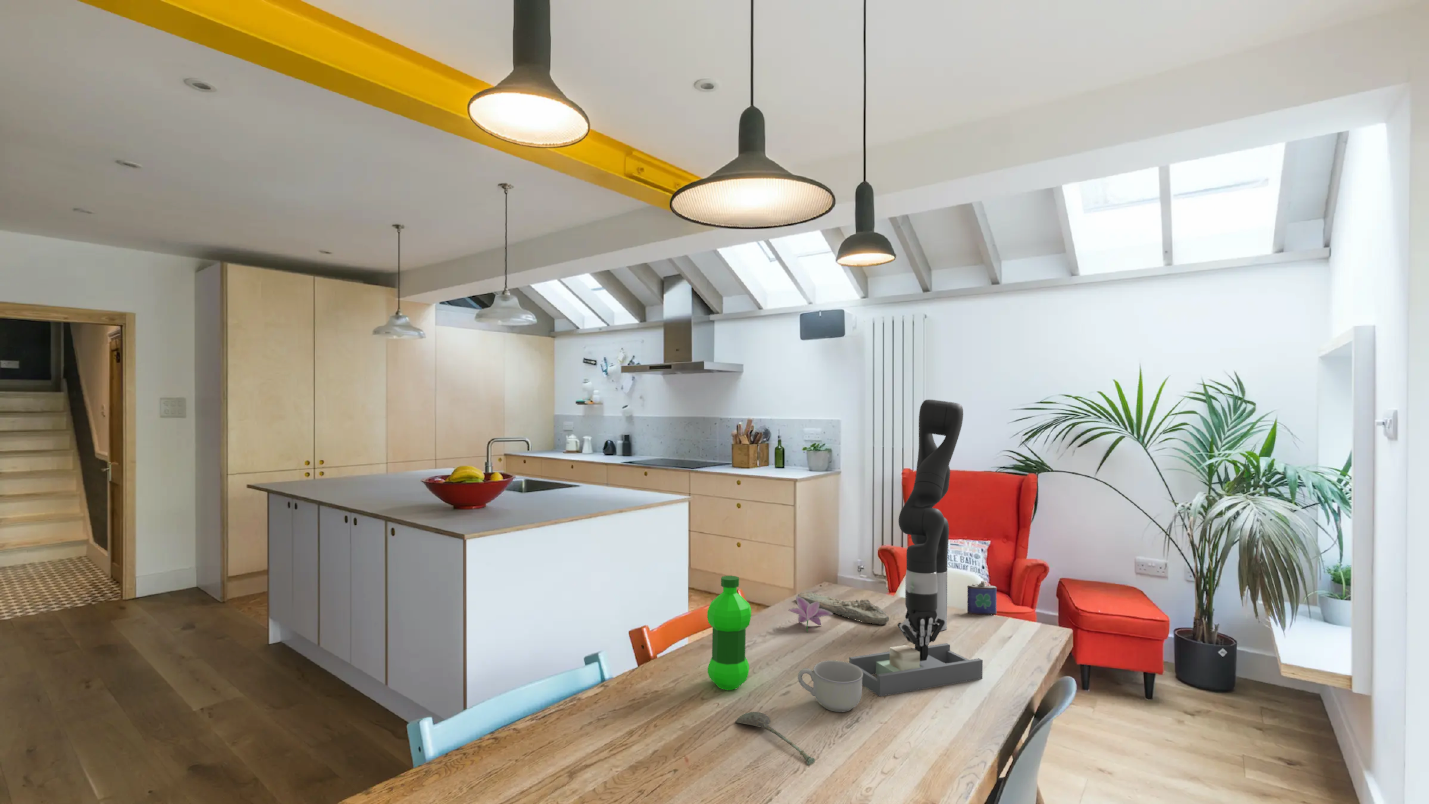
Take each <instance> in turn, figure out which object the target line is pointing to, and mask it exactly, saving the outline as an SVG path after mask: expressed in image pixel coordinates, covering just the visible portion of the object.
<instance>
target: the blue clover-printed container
mask: <svg viewBox="0 0 1429 804" xmlns="http://www.w3.org/2000/svg"><path fill="white" fill-rule="evenodd" d="M997 588H998V587H997V586H995V585H986V582H985V581H984V580H980V583H979V584H977V583H976V584H974V583H972V584H969V585H967V596H966V597H967V603H966V605H967V614H969V615H972V614H973V615H975V616H976V615H977V616H996V615H997V613H998V612H997ZM991 614H992V615H991Z"/></svg>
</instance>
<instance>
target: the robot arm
mask: <svg viewBox="0 0 1429 804" xmlns="http://www.w3.org/2000/svg"><path fill="white" fill-rule="evenodd" d="M963 421H964V409H963V406H962V404H960V403H958V402H952V401H944V400H936V399H925V400H923V402H921V405H920V407H919V414H918V451H917V452H918V453H917V461H916V462H917V463H916V470H915V478H914V479H915V480H914V483H913V488H912V491H911V492H910V494H909V495H908V498H907V500H906V502H905V503H904V505H903V506H902V508H901V510H900V512H899V515H898V526H899V529H900V531H902V533H904V534H905V535H910V539H911V542H912V543H913V544H911V545H909V546H908V547H907V548H906V553H905V554H906V557H905V558H906V570H905V579H904V580H905V586H904V589H905V591H904V593H905V597H904V598H905V601H904V603H905V608H906V613H905V615H904V616H905V619H904V620H903V621H902V622H898V624H897V628H898V629H899V631H900V632H901V633H902V634H903V636H904V637H905V639H906V640H907V641H908V643H911V644H913V645H914V648H915V650H917V651H919V652H920V661H925V660H927V657H928V646H930V643H934V642H935V641H936V639H937V637H938V635H939V634H940V632H943V631H945V630H946V629H947V627H948V626H947V625H948V551H949V538H950V528H949V527H950V526H949V525H950V524H949V522H948V519H947V517H944V515H943V513H942V511H941V510H940V509H938V508H934V507H935V506H936V505H937V504H938V503H940V501H941V500H942V499H943V498H944V497H945V495H947V493H948V491H949V488H950V478H951V469H950V463H951V460H952V457H953V454H954V452H955V449H956V446H957V443H958V439H959V437H960V433H961V430H962V426H963ZM933 435H936V436H937V435H938V436H944V438H943V441H942V442H941V443H940V445H938V446H937V445H936V443H935V439H934V436H933Z"/></svg>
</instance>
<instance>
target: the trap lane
mask: <svg viewBox="0 0 1429 804" xmlns="http://www.w3.org/2000/svg"><path fill="white" fill-rule="evenodd" d="M912 648H913V649H915V647H912ZM848 663H851V664H853V665H855V666H857V667H859V668H860V669H861V670H862V672H863V677H862V687H865V688H866V689H868V690H870V691H871V692H872V693H874V694H875V695H877V696H879V697H884V696H886V697H887V696H890V695H898V694H903V693H907V692H914V691H920V690H926V689H930V688H937V687H942V686H947V685H954V684H961V683H964V682H970V681H976V680H982V679H983V666H984V665H983V659H981V658H978V657H977V658H972V659H969V658H966V657H964V656H962V655H961V654H958V653H955V652H954V651H952V650H951V644H949V643H938V644H931V645H928V657H927V660H925V661H920V668H915V669H909V670H902V671H901V670H899V669H897V668H896V667H894V666H892V665H891V664H890V651H883V652H875V653H870V654H863V655H858V656H856V655H855V656H849V657H848ZM874 675H876V677H875V676H874Z"/></svg>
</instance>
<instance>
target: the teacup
mask: <svg viewBox="0 0 1429 804" xmlns="http://www.w3.org/2000/svg"><path fill="white" fill-rule="evenodd" d="M812 669H813V670H812ZM812 669H810V668H809V667H804V668H801V669H800V670H799V671H798V673H797V680H798V683H799V684H800V686H801V687H802V688H803V689H805V690H806V691H808V692H809V693H810V694H811V696H812V697H814V698H815V700H816V701H817V702H818V704H820V705H821V706H822V707H823V708H825V710H828V711H831V712H835V713H844V712H845V713H846V712H849V711H851V710H852V709H853V708H855V707H857V706H858V705H859V703H860V702H861V699H862V693H863V691H862V690H863V685H862V677H863V672H862V670H861V669H860V668H859V667H857V666H855V665H853V664H851V663H849V661H848V662H847V661H843V660H836V659H835V660H822V661H820V662H817V663H816V664H815V665H814V666H813V668H812ZM805 674H808V675H809V676H810V678H811V681H812V682H813V683H812V686H810V685H809V684H807V683H806V682H805V680H803V676H804V675H805Z"/></svg>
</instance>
